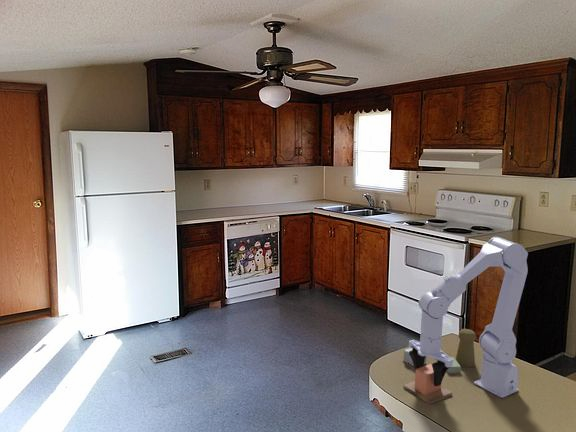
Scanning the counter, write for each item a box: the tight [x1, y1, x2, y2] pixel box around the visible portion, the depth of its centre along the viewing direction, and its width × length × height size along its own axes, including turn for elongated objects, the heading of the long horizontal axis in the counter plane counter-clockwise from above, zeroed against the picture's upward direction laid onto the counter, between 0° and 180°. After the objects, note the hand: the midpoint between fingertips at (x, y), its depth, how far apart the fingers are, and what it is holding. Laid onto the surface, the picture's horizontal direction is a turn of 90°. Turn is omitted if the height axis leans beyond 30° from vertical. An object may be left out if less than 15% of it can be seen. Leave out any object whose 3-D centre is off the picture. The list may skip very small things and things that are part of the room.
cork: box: [455, 328, 477, 368], centre depth 153 cm, size 6×6×11 cm
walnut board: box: [403, 380, 453, 405], centre depth 136 cm, size 10×9×1 cm
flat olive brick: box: [446, 356, 462, 374], centre depth 150 cm, size 6×4×2 cm, turn 2°
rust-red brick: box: [414, 363, 442, 395], centre depth 136 cm, size 4×6×6 cm, turn 122°
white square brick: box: [403, 347, 427, 367], centre depth 153 cm, size 5×5×4 cm
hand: (428, 379), depth 136 cm, fingers open, 6 cm apart
